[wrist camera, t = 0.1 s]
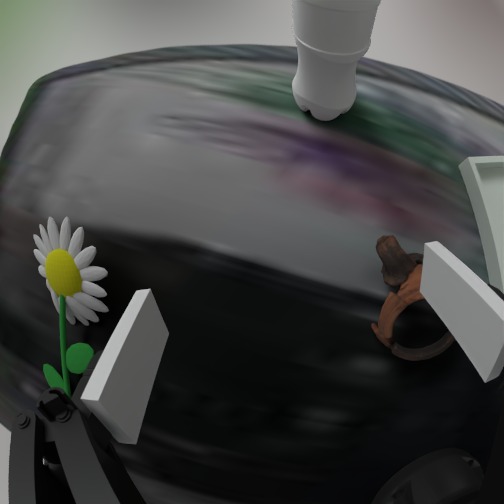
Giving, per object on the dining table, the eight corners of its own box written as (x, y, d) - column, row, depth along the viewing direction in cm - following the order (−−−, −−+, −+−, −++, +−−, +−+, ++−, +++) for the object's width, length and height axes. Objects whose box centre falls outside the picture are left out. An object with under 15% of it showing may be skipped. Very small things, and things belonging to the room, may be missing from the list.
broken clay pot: (459, 289, 27) (485, 329, 19) (393, 336, 31) (401, 385, 23) (402, 203, 26) (425, 223, 19) (331, 260, 30) (327, 298, 23)
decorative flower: (127, 459, 29) (126, 223, 30) (108, 477, 24) (99, 217, 25) (59, 425, 31) (52, 219, 32) (38, 436, 26) (25, 214, 27)
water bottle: (280, 107, 32) (261, -97, 7) (312, 74, 32) (318, -104, 8) (332, 137, 31) (372, -79, 6) (362, 101, 31) (408, -82, 7)
